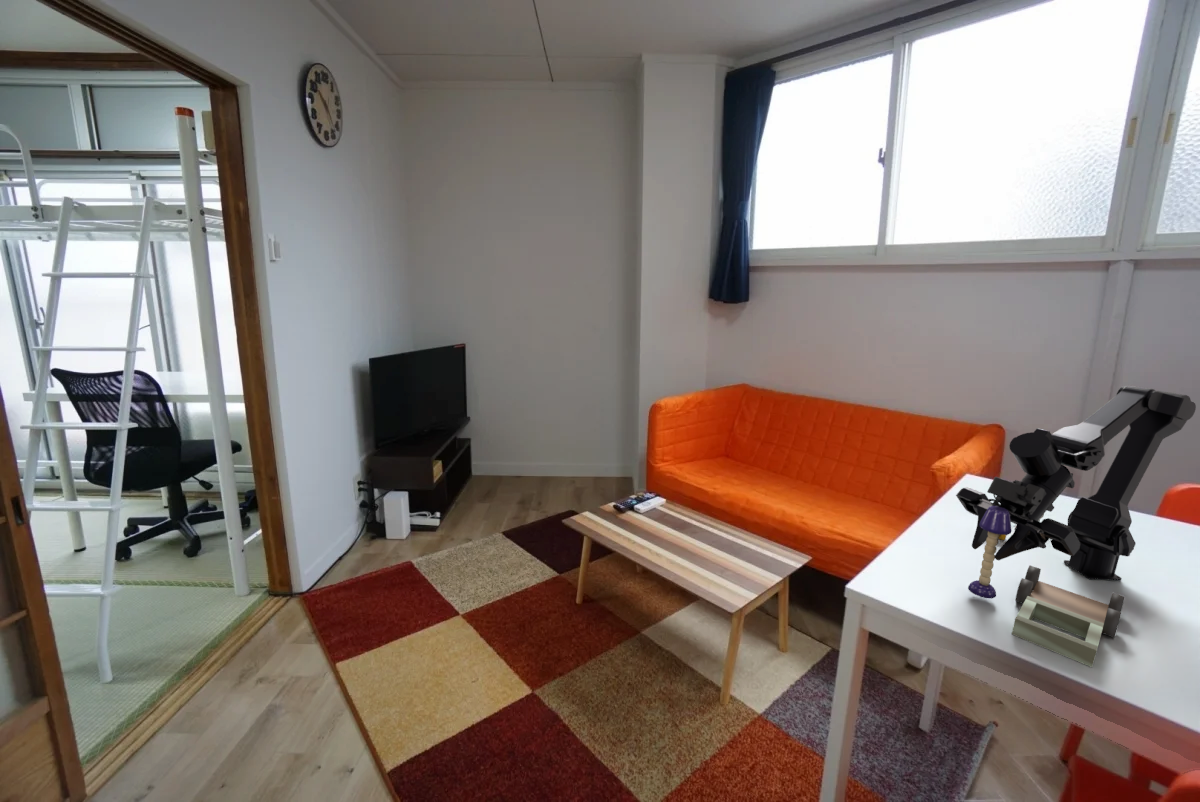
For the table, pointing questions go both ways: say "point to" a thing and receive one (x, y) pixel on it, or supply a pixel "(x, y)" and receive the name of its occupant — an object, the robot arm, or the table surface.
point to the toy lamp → (990, 548)
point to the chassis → (1064, 618)
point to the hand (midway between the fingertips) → (984, 553)
